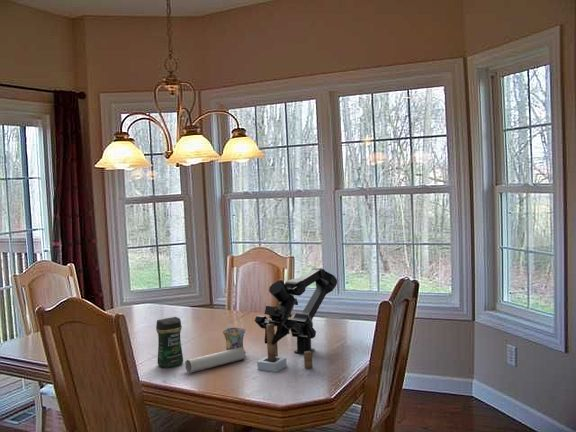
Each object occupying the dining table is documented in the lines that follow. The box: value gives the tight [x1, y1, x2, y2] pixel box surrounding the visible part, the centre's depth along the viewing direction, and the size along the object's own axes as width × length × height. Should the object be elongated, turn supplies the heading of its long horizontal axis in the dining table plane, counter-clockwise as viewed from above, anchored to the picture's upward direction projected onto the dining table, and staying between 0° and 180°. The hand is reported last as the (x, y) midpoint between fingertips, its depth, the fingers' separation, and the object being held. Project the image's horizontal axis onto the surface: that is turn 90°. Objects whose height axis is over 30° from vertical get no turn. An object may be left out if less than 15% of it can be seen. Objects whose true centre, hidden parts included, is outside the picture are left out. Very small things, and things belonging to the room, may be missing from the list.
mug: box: [222, 326, 246, 351], centre depth 227 cm, size 12×9×11 cm
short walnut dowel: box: [303, 351, 313, 370], centre depth 207 cm, size 3×3×6 cm
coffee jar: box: [155, 316, 184, 369], centre depth 218 cm, size 10×8×19 cm
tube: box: [184, 347, 247, 374], centre depth 215 cm, size 5×5×25 cm
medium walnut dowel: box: [275, 342, 279, 357], centre depth 218 cm, size 3×3×9 cm
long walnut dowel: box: [266, 324, 276, 362], centre depth 209 cm, size 3×3×14 cm
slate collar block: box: [256, 355, 288, 373], centre depth 210 cm, size 8×8×3 cm
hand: (268, 343), depth 208 cm, fingers closed on long walnut dowel, 3 cm apart
